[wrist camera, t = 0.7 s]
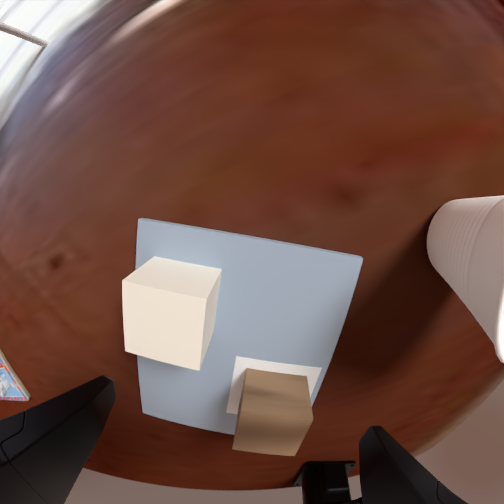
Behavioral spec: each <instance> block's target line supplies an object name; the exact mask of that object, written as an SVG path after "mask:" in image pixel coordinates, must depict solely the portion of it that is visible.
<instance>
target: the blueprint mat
mask: <svg viewBox="0 0 504 504" xmlns="http://www.w3.org/2000/svg"><path fill="white" fill-rule="evenodd" d="M154 256H155V257H160V258H165V259H171V260H176V261H181V262H186V263H191V264H197V265H202V266H207V267H213V268H218V269H222V272H221V279H220V286H219V294H218V302H217V309H216V317H215V325H214V331H213V334H212V337H211V340H210V343H209V346H208V348H207V351H206V354H205V357H204V360H203V362H202V365H201V368H200V371H198V370H193V369H189V368H185V367H180V366H176V365H172V364H168V363H165V362H161V361H157V360H154V359H150V358H146V357H143V356H140V355H137V361H138V373H139V384H140V394H141V403H142V411H143V413H145V414H148V415H151V416H154V417H158V418H161V419H165V420H168V421H172V422H176V423H180V424H184V425H188V426H192V427H197V428H201V429H206V430H211V431H216V432H221V433H227V434H232V435H234V434H235V427H236V420H237V413H238V407H239V402H240V398H241V393H242V388H243V384H244V379H245V374H246V369H247V368H250V369H256V370H263V371H270V372H277V373H285V374H293V375H302V376H307V380H308V386H309V393H310V400H311V407H312V405H313V402H314V400H315V398H316V395H317V393H318V391H319V388H320V386H321V383H322V381H323V378H324V376H325V373H326V371H327V368H328V366H329V363H330V361H331V358H332V355H333V353H334V350H335V347H336V344H337V341H338V339H339V336H340V333H341V330H342V327H343V324H344V321H345V318H346V315H347V312H348V309H349V306H350V303H351V299H352V296H353V293H354V289H355V286H356V283H357V279H358V275H359V272H360V268H361V265H362V261H363V258H362V257H361V256H357V255H352V254H347V253H341V252H336V251H331V250H325V249H320V248H315V247H309V246H304V245H298V244H293V243H287V242H282V241H276V240H270V239H265V238H259V237H253V236H248V235H242V234H236V233H230V232H225V231H219V230H213V229H207V228H201V227H195V226H189V225H183V224H177V223H171V222H164V221H158V220H152V219H146V218H140V219H138V229H137V246H136V270H137V269H138V268H139V267H141V266H142V265H143V264H145V263H146V262H147V261H149V260H150V259H151V258H153V257H154Z"/></svg>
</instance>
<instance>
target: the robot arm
mask: <svg viewBox="0 0 504 504" xmlns="http://www.w3.org/2000/svg"><path fill="white" fill-rule="evenodd" d="M115 397H116V394H115V387H114V381H113V379H111V378H109V377H106V376H103V375H102V376H99V377H97V378H95V379H93V380H91V381H89V382H87V383H85V384H83V385H80V386H78V387H76V388H74V389H72V390H70V391H68V392H65V393H63V394H61V395H59V396H57V397H54V398H52V399H50V400H48V401H46V402H43V403H41V404H39V405H36V406H34V407H32V408H30V409H27V410H26V411H22V412H20V413H18V414H15V415H12V416H10V417H7V418H4V419H1V420H0V504H64V503H65V501H66V498H67V497H68V495H69V493H70V491H71V489H72V487H73V485H74V483H75V481H76V479H77V478H78V476H79V474H80V472H81V470H82V468H83V466H84V464H85V462H86V461H87V459H88V457H89V455H90V453H91V451H92V450H93V448H94V446H95V444H96V442H97V441H98V439H99V437H100V435H101V433H102V431H103V428H104V426H105V423H106V421H107V418H108V416H109V413H110V411H111V408H112V406H113V403H114V401H115ZM359 464H360V484H361V493H362V497H360V498H358V499H356V500H351V495H350V489H349V483H348V477H347V475H348V474H349V473H350V472H351V470H352V469H353V468H354V467H355V466H356V462H355V461H343V462H307V463H306V464H305V466H304V467H303V469H302V470H301V472H300V474H299V475H298V477H297V478H296V480H295V481H294V483H293V485H294V486H302V493H303V504H468V503H466V502H465V501H463V500H462V499H461V498H459V497H458V496H457V495H455V494H454V493H452V492H451V491H450V490H449V489H448V488H447V487H445V486H444V485H443V484H442V483H441V482H440V481H438V480H437V479H436V478H435V477H434V476H433V475H432V474H431V473H430V472H429V471H428V470H427V469H425V468H424V467H423V466H422V465H421V464H420V463H419V462H418V461H417V460H416V459H415V458H414V457H413V456H412V455H411V454H410V453H408V452H407V451H406V450H405V449H404V448H403V447H402V446H401V445H400V444H399V443H398V442H397V441H396V440H395V439H394V438H393V437H392V436H391V435H390V434H389V433H388V432H387V431H386V430H385V429H383V428H382V427H381V426H370V427H369V428H368V429H367V431H366V432H365V434H364V435H363V436H362V438H361V439H360V442H359Z"/></svg>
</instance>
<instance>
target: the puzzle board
mask: <svg viewBox="0 0 504 504" xmlns="http://www.w3.org/2000/svg"><path fill="white" fill-rule="evenodd" d="M30 397H31V395H30V394H29V392H28V391H27V389H26V388H25V387H24V385H23V384H22V382H21V381H20V379H19V378H18V377H17V375H16V374H15V372H14V370H13V369H12V367H11V366H10V364H9V363H8V361H7V359H6V358H5V356H4V354H3V353H2V351H1V349H0V400H17V401H28V400H29V398H30Z"/></svg>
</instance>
